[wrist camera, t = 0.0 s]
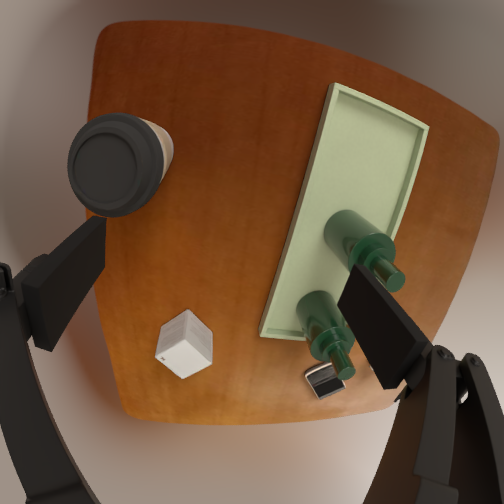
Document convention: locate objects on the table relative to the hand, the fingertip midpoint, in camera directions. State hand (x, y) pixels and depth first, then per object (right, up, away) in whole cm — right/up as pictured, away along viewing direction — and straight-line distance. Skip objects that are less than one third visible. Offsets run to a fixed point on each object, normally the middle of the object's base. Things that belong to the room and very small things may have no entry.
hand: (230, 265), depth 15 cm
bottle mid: (+14, +4, +25) cm, 29 cm away
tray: (+14, +4, +26) cm, 30 cm away
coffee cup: (-12, +13, +19) cm, 26 cm away
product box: (-9, -11, +31) cm, 34 cm away
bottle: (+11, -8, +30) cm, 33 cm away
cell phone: (+16, -24, +39) cm, 49 cm away
